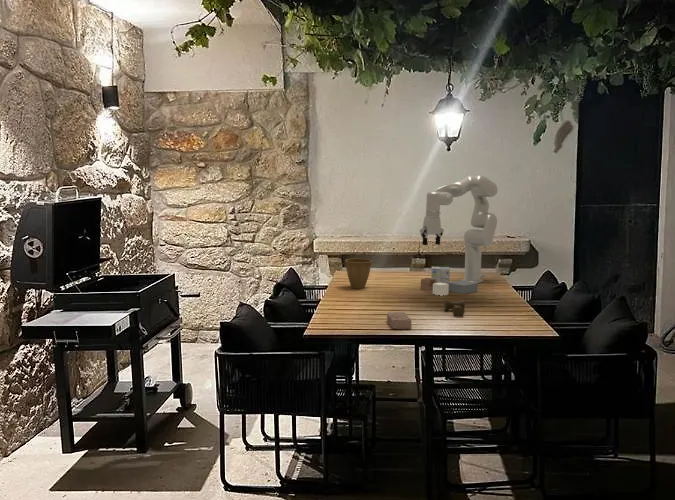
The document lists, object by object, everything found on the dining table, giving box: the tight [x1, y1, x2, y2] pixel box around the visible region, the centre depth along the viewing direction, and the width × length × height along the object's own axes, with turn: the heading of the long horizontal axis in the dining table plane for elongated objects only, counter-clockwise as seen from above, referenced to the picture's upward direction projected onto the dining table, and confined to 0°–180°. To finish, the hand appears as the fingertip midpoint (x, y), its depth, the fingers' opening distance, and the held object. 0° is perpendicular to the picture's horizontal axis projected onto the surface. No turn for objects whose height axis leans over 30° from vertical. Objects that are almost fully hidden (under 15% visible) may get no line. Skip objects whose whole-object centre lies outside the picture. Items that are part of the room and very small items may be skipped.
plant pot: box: [345, 258, 373, 290], centre depth 367 cm, size 15×15×16 cm
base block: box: [447, 279, 479, 295], centre depth 359 cm, size 12×12×5 cm
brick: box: [386, 311, 412, 330], centre depth 281 cm, size 17×8×5 cm, turn 5°
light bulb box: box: [430, 266, 451, 284], centre depth 375 cm, size 11×7×11 cm, turn 84°
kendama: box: [443, 298, 466, 317], centre depth 306 cm, size 6×10×20 cm
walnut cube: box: [420, 277, 436, 292], centre depth 363 cm, size 6×6×6 cm
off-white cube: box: [432, 283, 450, 297], centre depth 349 cm, size 6×6×6 cm
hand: (431, 244), depth 361 cm, fingers open, 9 cm apart
